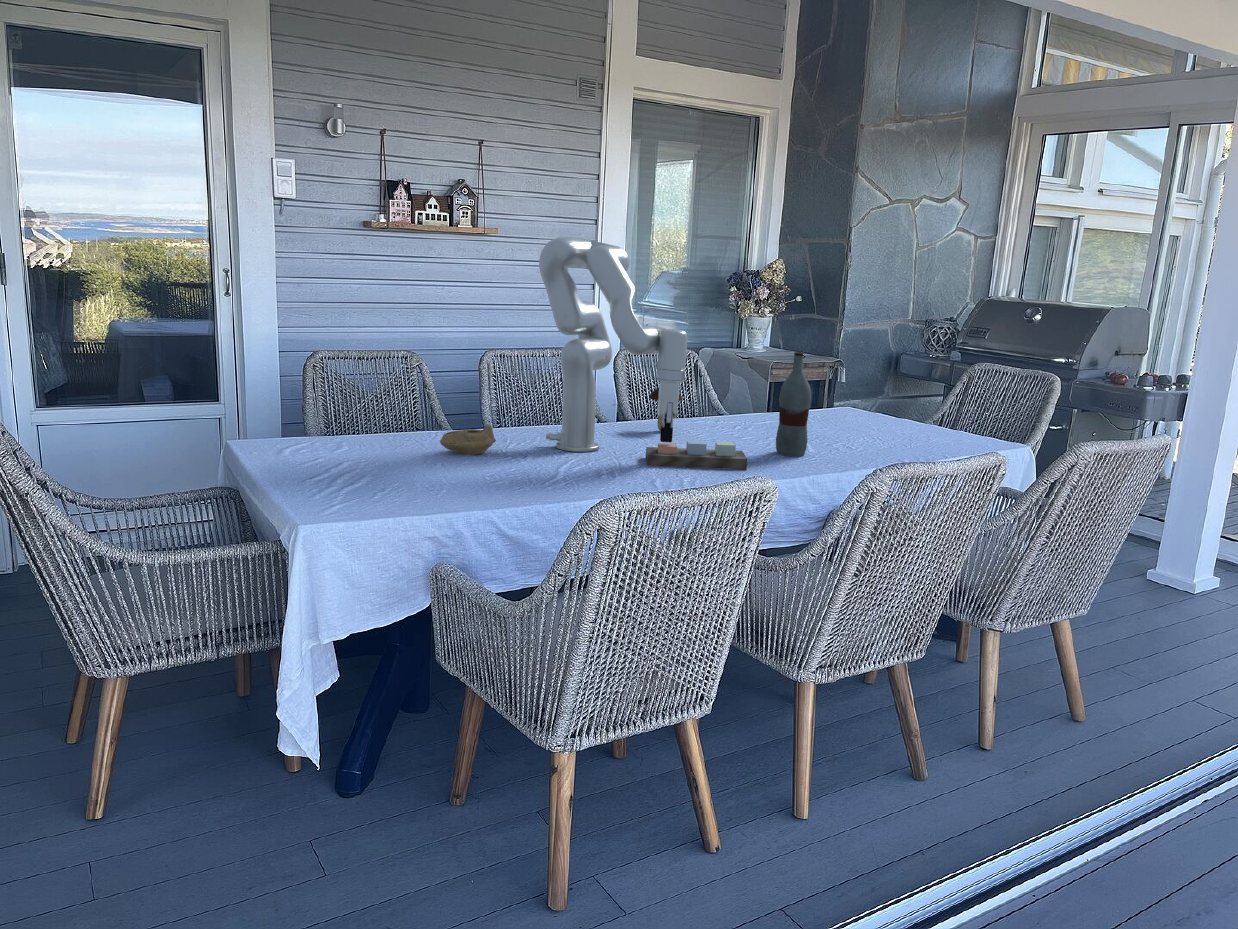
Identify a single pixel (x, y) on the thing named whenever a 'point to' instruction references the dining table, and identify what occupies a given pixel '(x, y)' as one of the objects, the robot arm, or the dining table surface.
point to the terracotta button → (667, 448)
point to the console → (696, 459)
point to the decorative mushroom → (654, 396)
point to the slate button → (696, 447)
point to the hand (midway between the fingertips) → (665, 441)
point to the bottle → (793, 411)
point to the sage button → (725, 448)
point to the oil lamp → (469, 440)
